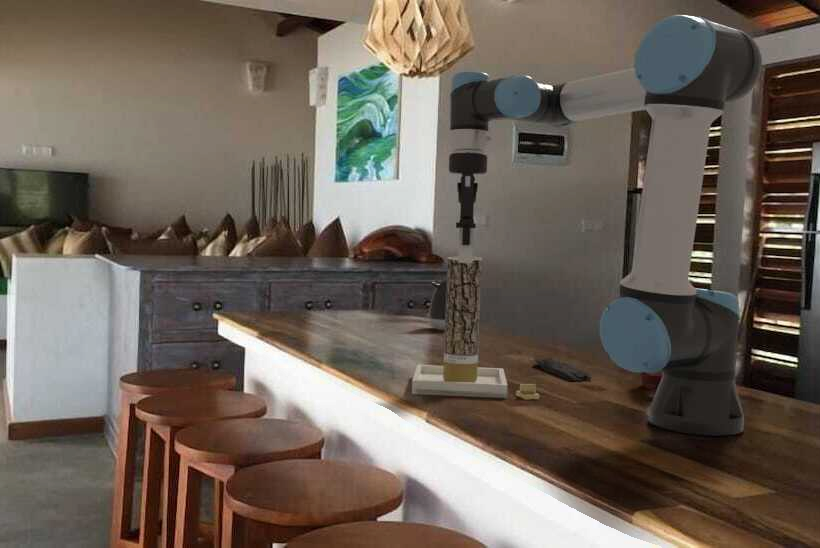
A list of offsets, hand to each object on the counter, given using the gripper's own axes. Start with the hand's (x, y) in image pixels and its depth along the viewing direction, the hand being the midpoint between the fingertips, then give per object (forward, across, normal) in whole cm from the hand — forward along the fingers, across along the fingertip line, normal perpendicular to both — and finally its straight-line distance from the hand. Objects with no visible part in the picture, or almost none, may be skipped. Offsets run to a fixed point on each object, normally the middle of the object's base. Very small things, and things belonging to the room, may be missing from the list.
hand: (465, 261), depth 169 cm
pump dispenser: (+24, +88, +5) cm, 91 cm away
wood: (+26, +22, -22) cm, 41 cm away
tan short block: (+26, -6, -13) cm, 29 cm away
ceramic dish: (+25, 0, 0) cm, 25 cm away
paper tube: (+24, 0, 0) cm, 24 cm away
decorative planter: (+26, +8, -43) cm, 50 cm away
